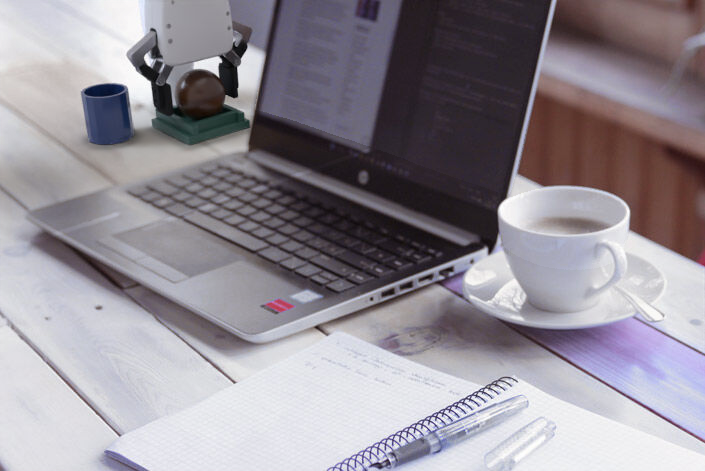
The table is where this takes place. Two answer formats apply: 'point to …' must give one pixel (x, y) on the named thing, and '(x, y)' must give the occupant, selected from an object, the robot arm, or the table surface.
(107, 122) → the cup
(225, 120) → the tray
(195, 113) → the ball
